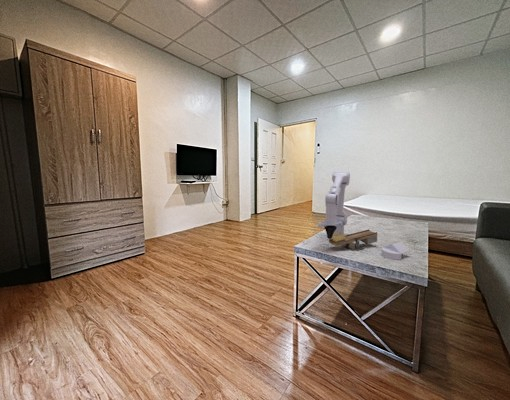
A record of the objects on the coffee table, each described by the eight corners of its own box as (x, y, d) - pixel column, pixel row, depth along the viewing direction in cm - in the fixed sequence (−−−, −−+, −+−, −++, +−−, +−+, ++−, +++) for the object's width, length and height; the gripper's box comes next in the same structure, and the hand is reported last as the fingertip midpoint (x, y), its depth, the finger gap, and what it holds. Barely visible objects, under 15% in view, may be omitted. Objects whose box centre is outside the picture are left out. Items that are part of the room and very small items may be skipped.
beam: (329, 248, 125) (328, 239, 123) (369, 238, 132) (368, 229, 131) (336, 253, 118) (335, 243, 117) (377, 241, 126) (377, 232, 125)
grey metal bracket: (340, 244, 129) (341, 234, 128) (351, 243, 131) (352, 233, 130) (352, 250, 119) (353, 239, 118) (363, 249, 121) (364, 238, 120)
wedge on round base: (391, 250, 120) (377, 254, 114) (392, 239, 119) (378, 242, 113) (408, 256, 113) (394, 261, 107) (410, 244, 112) (396, 248, 106)
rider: (332, 240, 123) (331, 234, 122) (340, 238, 124) (340, 232, 124) (336, 243, 119) (336, 236, 118) (345, 240, 120) (345, 234, 120)
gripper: (324, 217, 112) (322, 241, 114) (346, 215, 116) (345, 239, 118) (316, 214, 118) (315, 237, 120) (338, 213, 122) (336, 235, 124)
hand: (329, 238), depth 119 cm, fingers closed
